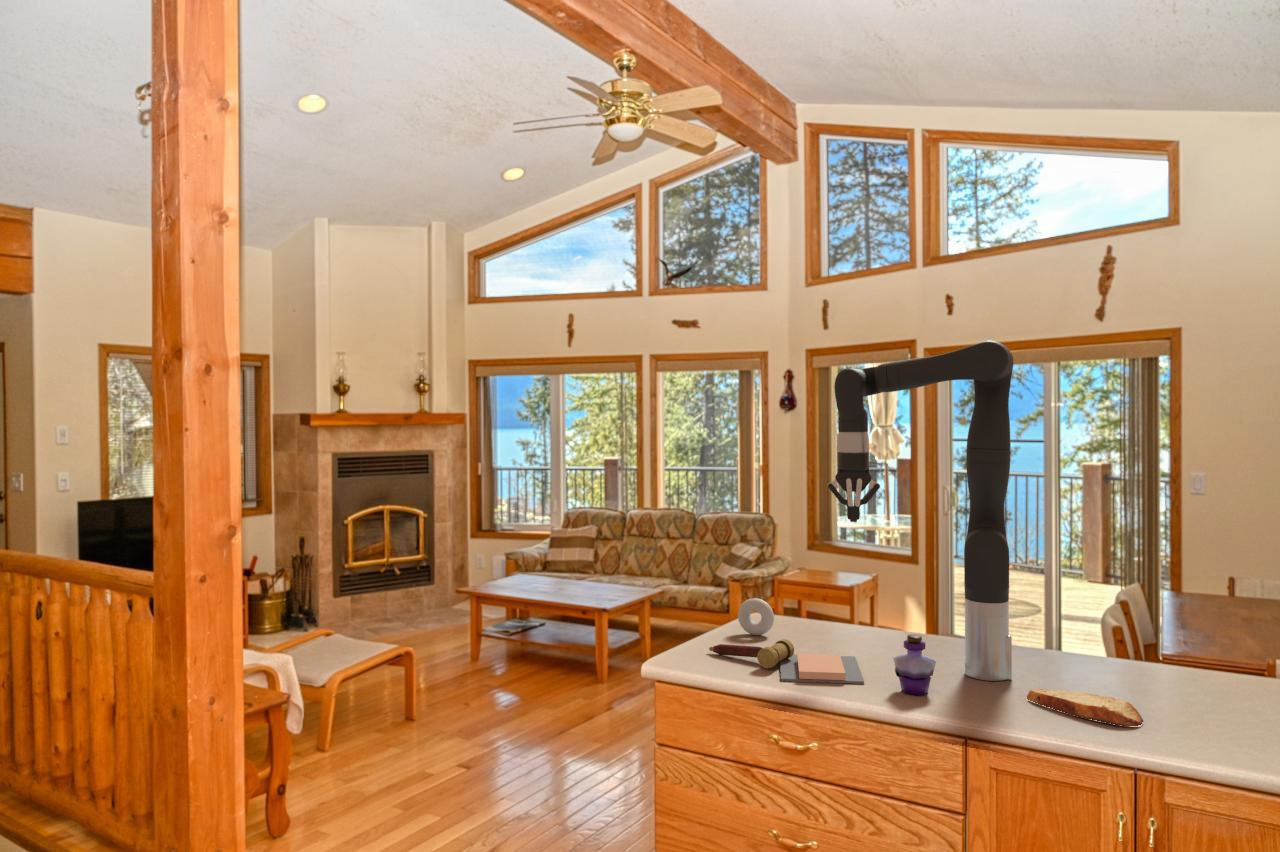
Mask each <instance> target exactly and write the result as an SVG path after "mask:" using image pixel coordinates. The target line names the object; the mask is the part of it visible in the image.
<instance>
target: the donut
mask: <svg viewBox="0 0 1280 852" xmlns="http://www.w3.org/2000/svg"><path fill="white" fill-rule="evenodd" d="M752 612H758V613H759V614H760V617H761V620H760V621H759V622H755V621H753V620H752V618H751V613H752ZM737 618H738V622H739V625H740V627H741V628H742V629H743V631H745V632H746V633H748V634H749V635H753V636H762V635H765V634H767V633H768V632H769V631H770V630H771V629H772V627H773V625H774V622H775V615H774V611H773V609H772V607H771V606H770V604H769V603H768V602H766V601H765V600H763V599H761V598H758V597H754V598H748V599H747V600H744V601H743V602H742V603H741V604H740V606H739V609H738V613H737Z"/></svg>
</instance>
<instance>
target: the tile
mask: <svg viewBox="0 0 1280 852" xmlns="http://www.w3.org/2000/svg"><path fill="white" fill-rule="evenodd" d="M796 654H797V664H798V673H799V679H819V680H846V673H845V670H844V666H843V663H842V660H841V657H840V656H841V655H837V654H835V655H832V654H804V653H803V654H801V653H800V654H799V653H796Z"/></svg>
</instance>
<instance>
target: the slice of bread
mask: <svg viewBox="0 0 1280 852" xmlns="http://www.w3.org/2000/svg"><path fill="white" fill-rule="evenodd" d="M1026 697H1027V699H1028V700H1030V701H1033V702H1035V703H1038V704H1040V705H1044V706H1046V707H1050V708H1053V709H1055V710H1059V711H1062V712H1065V713H1068V714H1071V715H1070V716H1072V715H1075V716H1078V717H1083V718H1086V719H1092V720H1097V721H1101V722H1106V723H1111V724H1115V725H1122V726H1138V725H1141V724H1142V722H1144V720H1143V719H1144V718H1142V716H1141V714H1140V712H1139V711H1138V709H1137V708H1136V707H1134V705H1133V704H1132V703H1131V702H1129V701H1125V700H1121V699H1117V698H1114V697H1110V696H1106V695H1105V696H1104V695H1099V694H1095V693H1086V692H1083V693H1082V692H1077V691H1070V690H1061V689H1059V690H1058V689H1046V688H1045V689H1044V688H1043V689H1041V688H1040V689H1039V688H1038V689H1030V690H1029V691H1028V694H1026ZM1055 710H1054V711H1055ZM1068 714H1067V715H1068ZM1075 716H1074V717H1075ZM1078 717H1077V718H1078ZM1083 718H1082V719H1083ZM1086 719H1085V720H1086ZM1106 723H1105V724H1106Z"/></svg>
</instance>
